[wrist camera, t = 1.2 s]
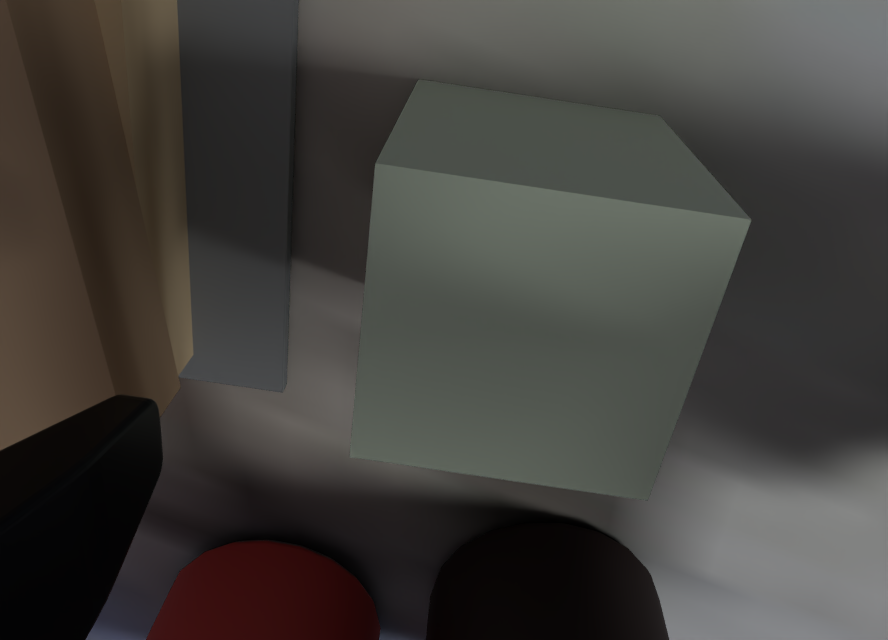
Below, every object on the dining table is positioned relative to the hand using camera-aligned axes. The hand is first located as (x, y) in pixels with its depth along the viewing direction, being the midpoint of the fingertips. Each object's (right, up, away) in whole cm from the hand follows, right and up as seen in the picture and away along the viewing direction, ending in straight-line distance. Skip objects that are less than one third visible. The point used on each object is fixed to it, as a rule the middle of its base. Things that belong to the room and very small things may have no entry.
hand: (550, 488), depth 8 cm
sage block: (0, +4, +8) cm, 9 cm away
